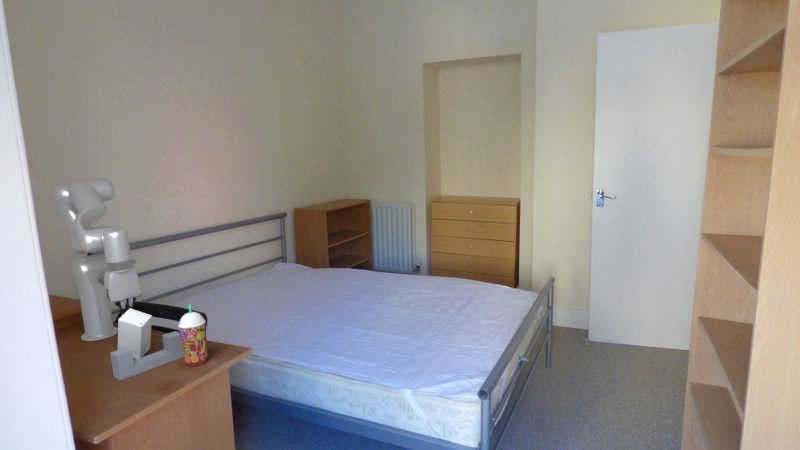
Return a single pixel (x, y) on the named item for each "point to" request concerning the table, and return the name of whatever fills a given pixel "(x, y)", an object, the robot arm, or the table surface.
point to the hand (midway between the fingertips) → (127, 318)
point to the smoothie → (193, 338)
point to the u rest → (146, 357)
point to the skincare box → (135, 332)
